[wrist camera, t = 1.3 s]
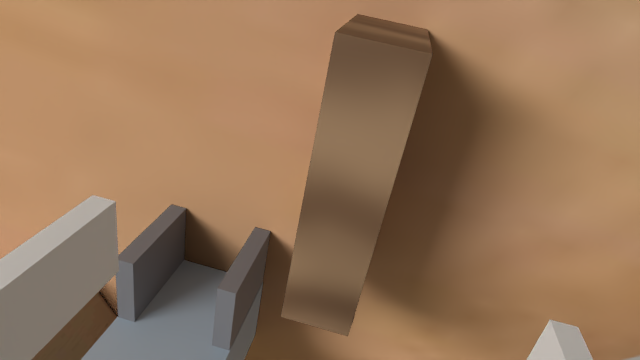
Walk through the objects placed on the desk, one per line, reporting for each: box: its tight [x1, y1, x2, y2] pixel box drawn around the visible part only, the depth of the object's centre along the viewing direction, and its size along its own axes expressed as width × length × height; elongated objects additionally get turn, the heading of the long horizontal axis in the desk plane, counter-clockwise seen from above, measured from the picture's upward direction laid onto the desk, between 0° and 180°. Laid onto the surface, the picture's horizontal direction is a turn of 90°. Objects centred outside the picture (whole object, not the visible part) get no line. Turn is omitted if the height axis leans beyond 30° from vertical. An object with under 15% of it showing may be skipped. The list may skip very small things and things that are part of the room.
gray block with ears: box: [81, 204, 270, 360], centre depth 28 cm, size 11×8×16 cm
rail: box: [281, 14, 433, 336], centre depth 25 cm, size 16×4×8 cm, turn 169°
